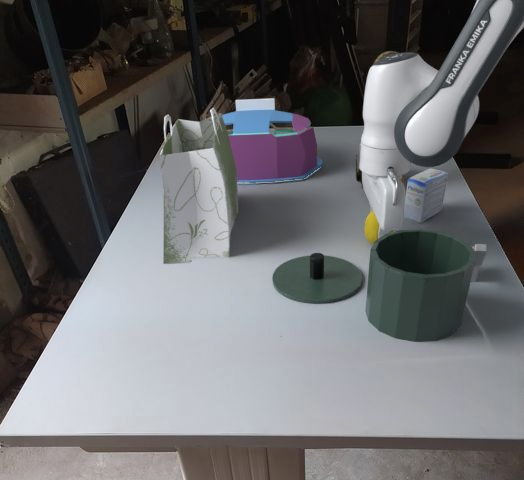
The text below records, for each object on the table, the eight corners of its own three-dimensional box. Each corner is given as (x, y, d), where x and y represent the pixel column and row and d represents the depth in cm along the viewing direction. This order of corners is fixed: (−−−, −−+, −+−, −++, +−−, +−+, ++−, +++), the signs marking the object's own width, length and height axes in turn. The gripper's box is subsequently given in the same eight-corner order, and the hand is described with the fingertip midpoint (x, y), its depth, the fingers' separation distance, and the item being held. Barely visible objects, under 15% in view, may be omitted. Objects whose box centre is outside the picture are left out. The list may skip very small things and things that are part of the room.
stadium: (183, 186, 134) (174, 126, 125) (196, 154, 153) (190, 100, 144) (324, 182, 132) (325, 120, 123) (320, 150, 151) (321, 95, 142)
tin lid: (354, 258, 101) (355, 233, 98) (368, 304, 89) (371, 276, 86) (271, 263, 101) (269, 237, 98) (274, 309, 89) (273, 281, 86)
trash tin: (445, 289, 91) (457, 226, 84) (474, 341, 80) (490, 273, 72) (359, 294, 91) (363, 231, 84) (375, 347, 80) (382, 279, 73)
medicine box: (424, 206, 118) (430, 167, 112) (442, 212, 115) (448, 172, 110) (402, 218, 114) (407, 177, 108) (420, 224, 111) (426, 183, 106)
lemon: (381, 256, 101) (385, 216, 96) (357, 247, 104) (359, 208, 99) (397, 245, 104) (402, 206, 99) (373, 237, 107) (376, 199, 102)
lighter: (464, 269, 96) (472, 227, 91) (474, 270, 96) (483, 228, 91) (466, 290, 91) (475, 247, 86) (477, 291, 90) (487, 248, 85)
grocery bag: (182, 197, 128) (167, 92, 114) (240, 195, 128) (232, 89, 114) (160, 263, 103) (137, 139, 89) (232, 261, 103) (220, 135, 88)
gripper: (418, 179, 86) (408, 256, 94) (391, 139, 102) (384, 209, 110) (378, 181, 86) (372, 258, 94) (358, 141, 102) (354, 210, 110)
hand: (378, 231), depth 102 cm, fingers closed on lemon, 5 cm apart
